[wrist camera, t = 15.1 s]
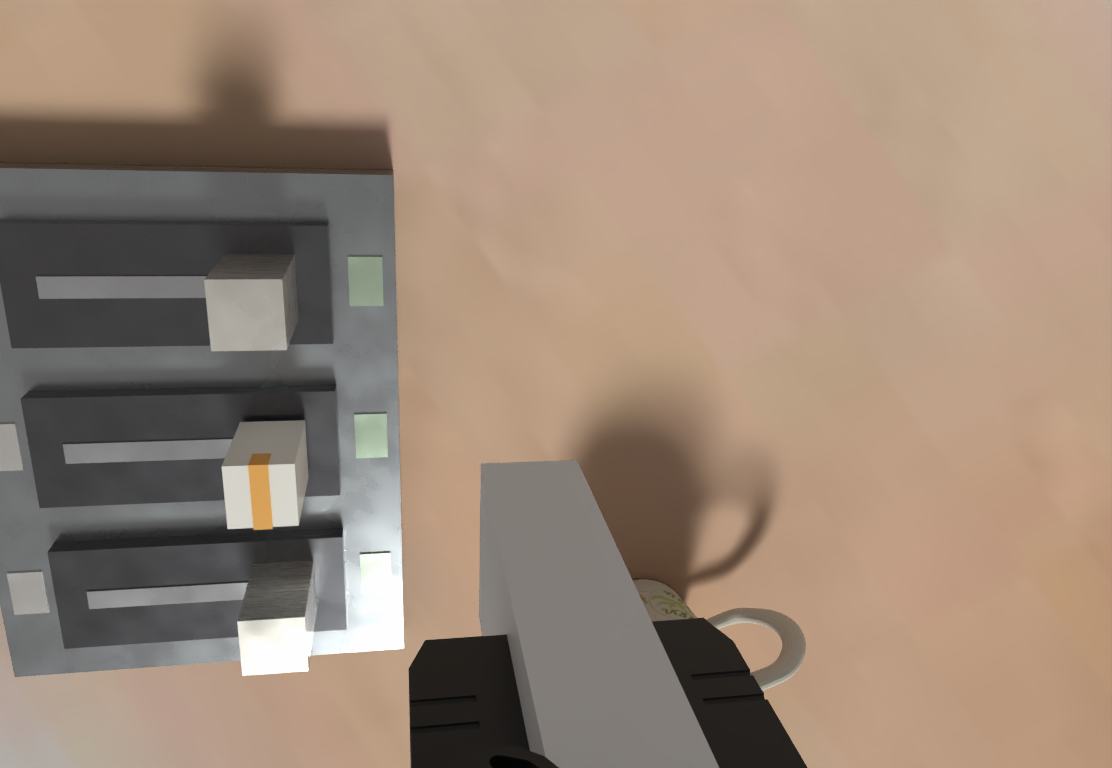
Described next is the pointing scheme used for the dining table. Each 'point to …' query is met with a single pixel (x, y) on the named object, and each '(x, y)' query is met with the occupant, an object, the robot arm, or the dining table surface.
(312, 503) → the panel
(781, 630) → the mug
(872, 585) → the dining table surface
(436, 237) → the dining table surface
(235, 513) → the block
